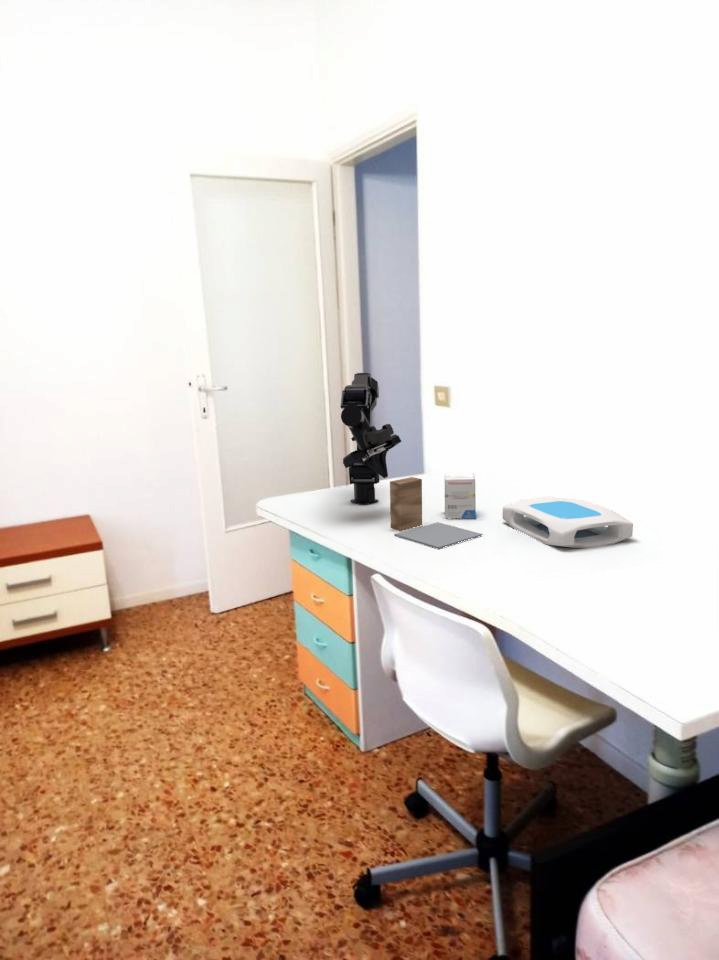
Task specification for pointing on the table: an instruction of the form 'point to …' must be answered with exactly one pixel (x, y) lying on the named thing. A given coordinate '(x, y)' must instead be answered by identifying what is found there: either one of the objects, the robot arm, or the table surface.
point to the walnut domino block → (406, 503)
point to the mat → (437, 535)
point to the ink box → (460, 495)
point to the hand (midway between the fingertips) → (386, 477)
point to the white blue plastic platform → (567, 521)
